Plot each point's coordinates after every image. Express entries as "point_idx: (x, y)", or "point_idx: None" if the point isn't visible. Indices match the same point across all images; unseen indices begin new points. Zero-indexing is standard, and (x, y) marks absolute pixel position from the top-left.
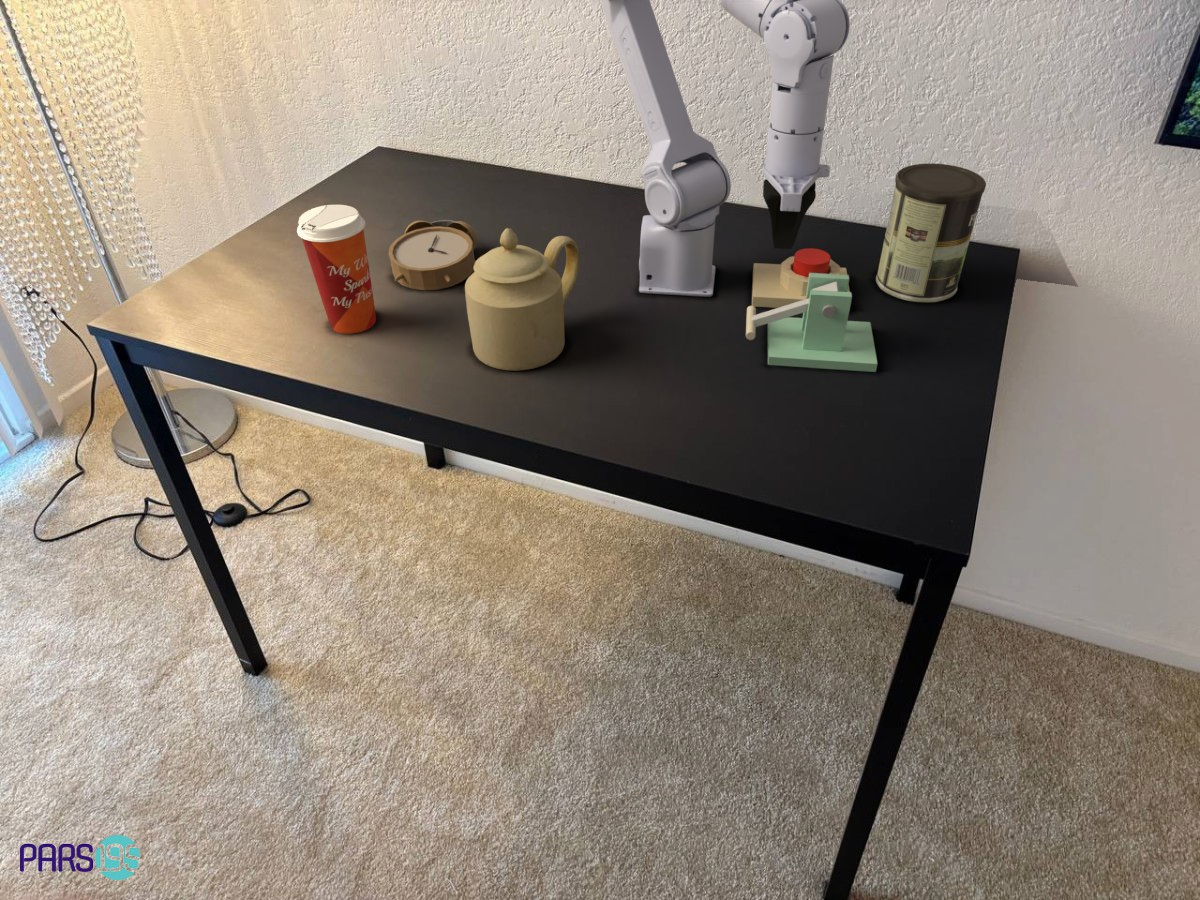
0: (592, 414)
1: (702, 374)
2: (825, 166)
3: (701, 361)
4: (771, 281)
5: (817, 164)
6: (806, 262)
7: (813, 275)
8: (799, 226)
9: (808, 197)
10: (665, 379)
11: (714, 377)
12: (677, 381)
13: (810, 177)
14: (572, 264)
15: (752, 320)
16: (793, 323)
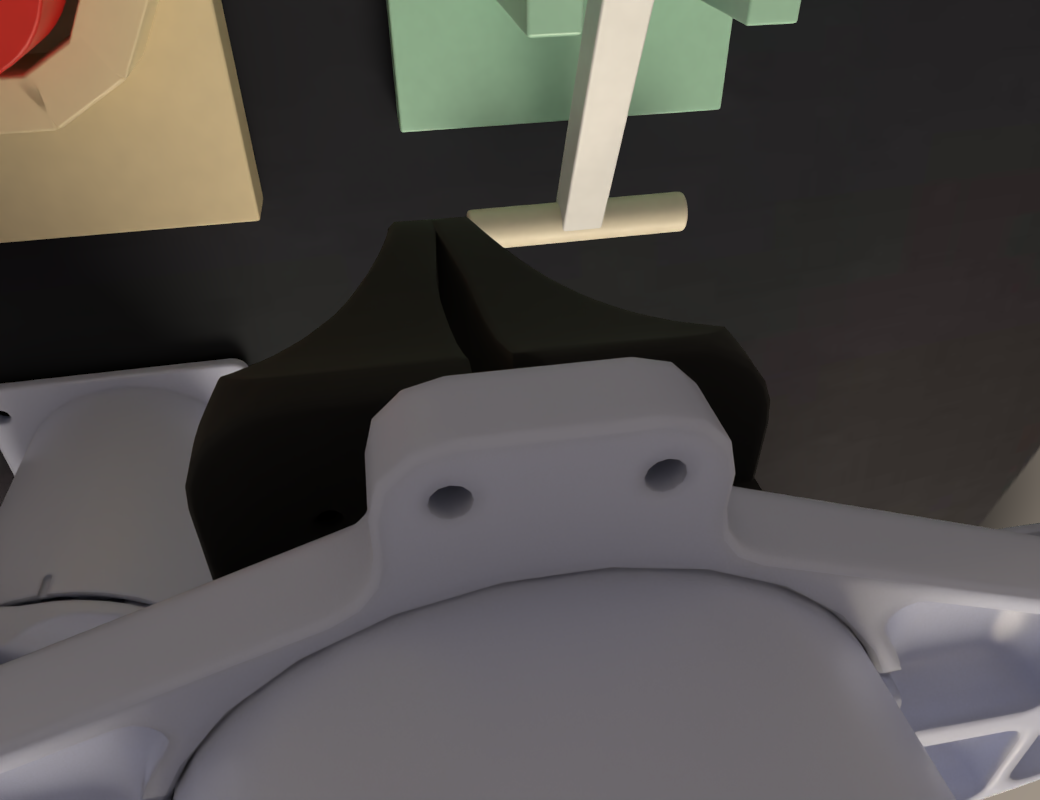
0: (894, 496)
1: (749, 302)
2: (473, 502)
3: (677, 317)
4: (67, 148)
5: (802, 694)
6: (26, 2)
7: (566, 9)
8: (532, 270)
9: (748, 410)
10: (768, 389)
11: (767, 266)
12: (780, 359)
13: (888, 603)
14: None
15: (600, 223)
16: (449, 11)
